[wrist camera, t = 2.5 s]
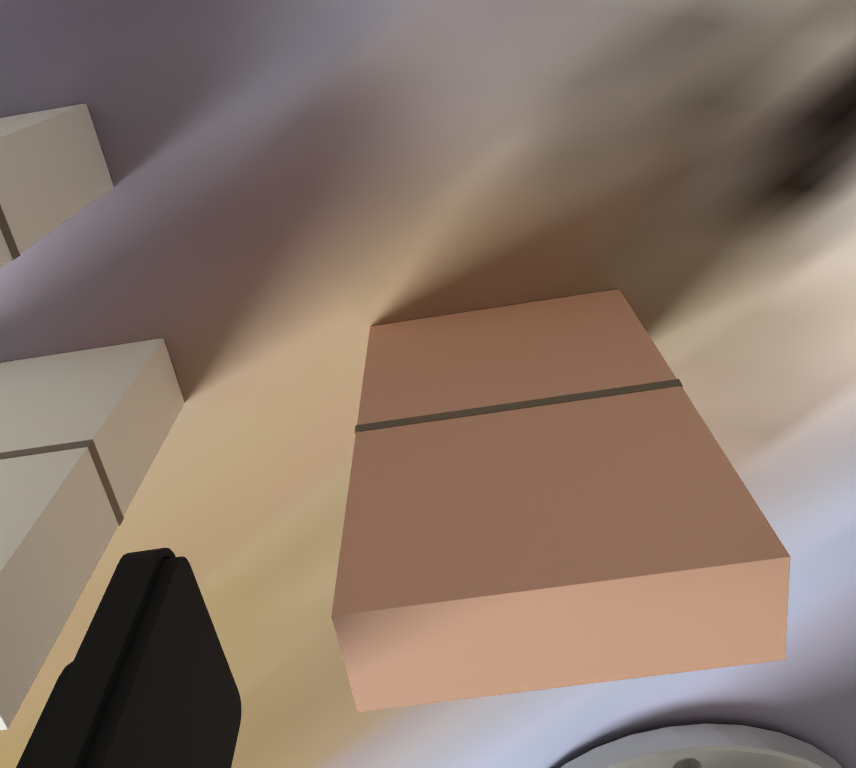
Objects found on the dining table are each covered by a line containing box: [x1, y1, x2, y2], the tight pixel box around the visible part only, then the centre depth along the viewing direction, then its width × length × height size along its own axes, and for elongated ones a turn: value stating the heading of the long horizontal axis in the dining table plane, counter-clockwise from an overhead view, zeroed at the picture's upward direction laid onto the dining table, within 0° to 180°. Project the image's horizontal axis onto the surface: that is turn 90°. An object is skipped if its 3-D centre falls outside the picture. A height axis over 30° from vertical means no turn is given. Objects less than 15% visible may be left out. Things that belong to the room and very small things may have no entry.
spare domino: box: [332, 289, 790, 712], centre depth 16 cm, size 2×6×10 cm, turn 99°
